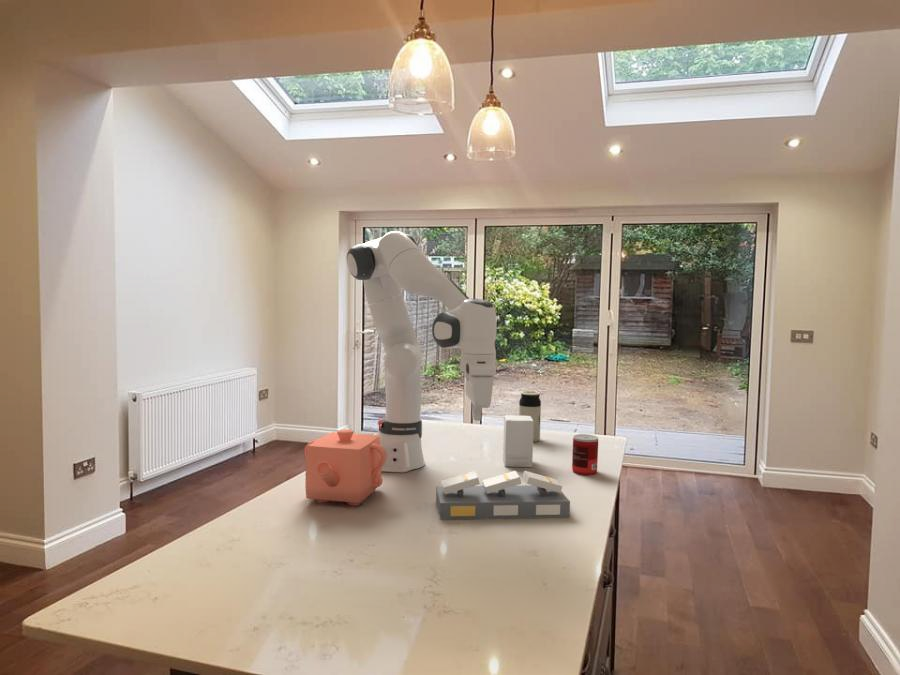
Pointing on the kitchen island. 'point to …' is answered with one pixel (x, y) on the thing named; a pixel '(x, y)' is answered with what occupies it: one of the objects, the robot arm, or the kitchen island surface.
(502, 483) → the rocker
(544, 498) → the console
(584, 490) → the kitchen island surface
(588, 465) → the canned food
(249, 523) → the kitchen island surface
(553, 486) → the block
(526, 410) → the travel mug
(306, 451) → the teapot
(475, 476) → the rocker
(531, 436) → the supplement box
